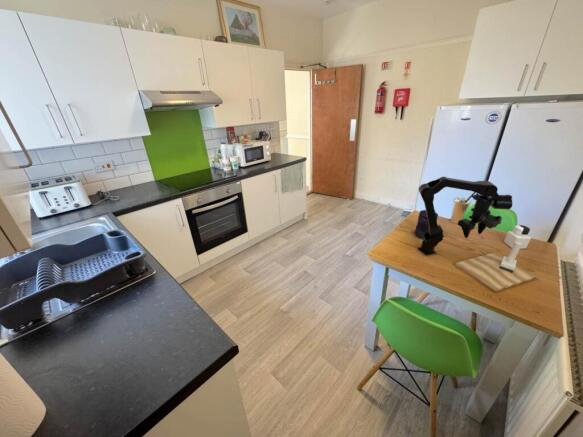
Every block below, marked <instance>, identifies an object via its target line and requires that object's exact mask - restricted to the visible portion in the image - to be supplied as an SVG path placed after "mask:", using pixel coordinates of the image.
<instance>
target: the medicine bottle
mask: <svg viewBox="0 0 583 437" xmlns="http://www.w3.org/2000/svg"><path fill="white" fill-rule="evenodd" d="M530 231H531V228H530V227H529V226H526V225H523V224H517V225H514V228H513V230H512V231H510V230H509V231H507V233H506V235H505V238H504V240H503V242H504V243H505V244H506V245H507V246H508V247H510V248H511V249H512V247H513V245H514V243H515V242H521V243H522V246H521V248H520V250H522V249H523V250H525V249H527V247H528V246H529V243H530V242H531V239H532V237H531V236H529V233H530Z"/></svg>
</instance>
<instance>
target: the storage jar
mask: <svg viewBox="0 0 583 437" xmlns="http://www.w3.org/2000/svg"><path fill="white" fill-rule="evenodd" d="M435 215H436V220H437V221H438V218H439V214H438V212H436V210H435ZM428 226H429V223H428V219H427V214H426V209H421V210H420V211H419V214H418V216H417V224H416V226H415V230H414V236H415V237H416V238H418V239H421V240H424V238H423V234H424V233H426V232H428Z"/></svg>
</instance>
